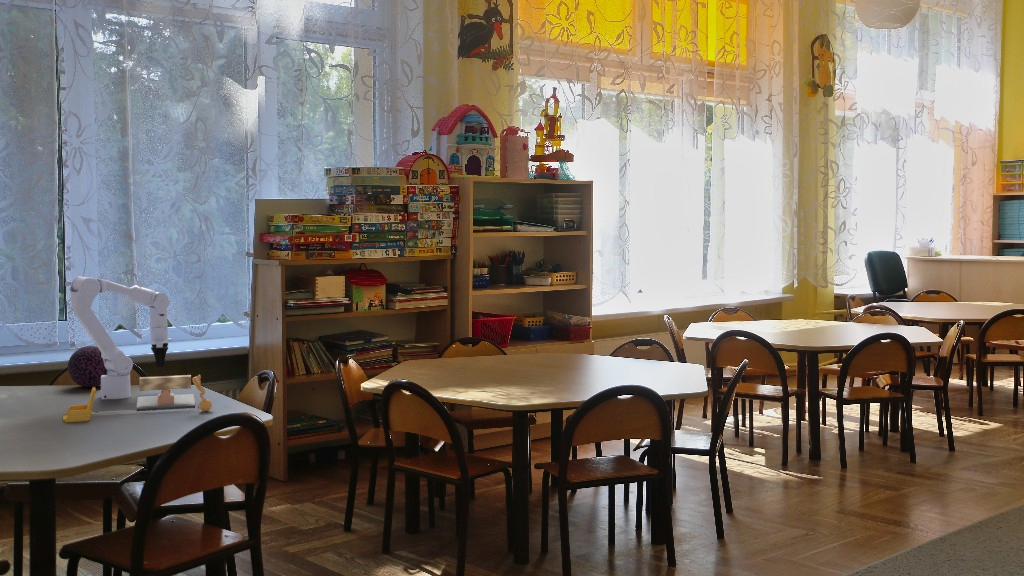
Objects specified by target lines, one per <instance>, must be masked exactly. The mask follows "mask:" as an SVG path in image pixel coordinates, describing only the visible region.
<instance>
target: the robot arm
mask: <svg viewBox="0 0 1024 576" xmlns="http://www.w3.org/2000/svg"><path fill="white" fill-rule="evenodd" d="M68 290H69V293H70V300H71V310H72V312H73V313H74V314H75V317H77V319H78V320H79V322H80V323H81V325H82V326H83V328H84V329H85V331H86V332H87V334H88V335H89V336H90V338H91V340H92V341H93V342H94V344H95V345H96V347H98V348H99V350H100V351H101V357H102V358H103V360H104V366H105V368H106V369H107V370H108V372H107V375H101V385H100V392H99V393H100V399H101V400H122V399H123V400H124V399H127V398H128V399H129V398H130V397H131V395H132V394H131V371H132V369H133V366H134V363H133V360H132V358H131V357H129V356H128V355H126V354H125V353H124V351H123V350H121V349H120V348H119V347H118V346H117V345H116V344H115V343H116V342H114V341H113V339H112V337H111V336H110V335H109V332H107V330H106V329H105V327H104V325H103V324H102V323H101V321H100V319H99V318H98V317H97V315H96V314H95V312H94V310H92V305H93V301H94V300H95V299H96V298H97V296H98V295H99V293H105V292H110V293H113V294H117V295H121V296H124V297H127V300H128V301H129V302H131V303H135V304H139V305H142V306H146V307H148V308H149V325H150V326H149V327H150V328H149V330H150V331H149V332H150V333H149V334H150V340H149V342H150V343H152V344H151V347H150V349H151V351H152V353H153V357H154V360H155V362H156V363H155V364H156V368H164V367H165V362H166V356H167V352H168V349H169V342H172V340H173V339H172V338H171V337H170V338H169V330H168V329H169V327H168V326H169V325H168V307H169V305H170V302H171V301H170V299H169V297H168V295H167V294H166V293H164V292H158V291H156V289H154V288H151V289H150V288H146V287H144V286H143V284H142V285H141V284H137V285H136V284H135V285H132V286H130V287H129V286H126V285H123V284H120V283H117V282H113V281H111V280H107V279H104V278H103V279H102V278H96V277H86V276H83V275H81V276H76V277H75V278H73V280H72V281H71V284H70V287H69V289H68Z"/></svg>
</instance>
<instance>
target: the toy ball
mask: <svg viewBox="0 0 1024 576" xmlns="http://www.w3.org/2000/svg"><path fill="white" fill-rule="evenodd" d="M107 372H108V370H107V369H106V368H105V366H104V360H103V358H102V357H101V351H100V350H99V348H98V347H97V346H94V345H87V346H83V347H80V348H78V349H77V350H75V351H74V352H73V353H72V354H71V356H70V357H69V359H68V361H67V373H68V376H69V377H70V379H71V380H72V382H74V383H75V384H77V385H78V386H81V387H83V388H93V387H95V388H96V387H98V386H101V375H107Z"/></svg>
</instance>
